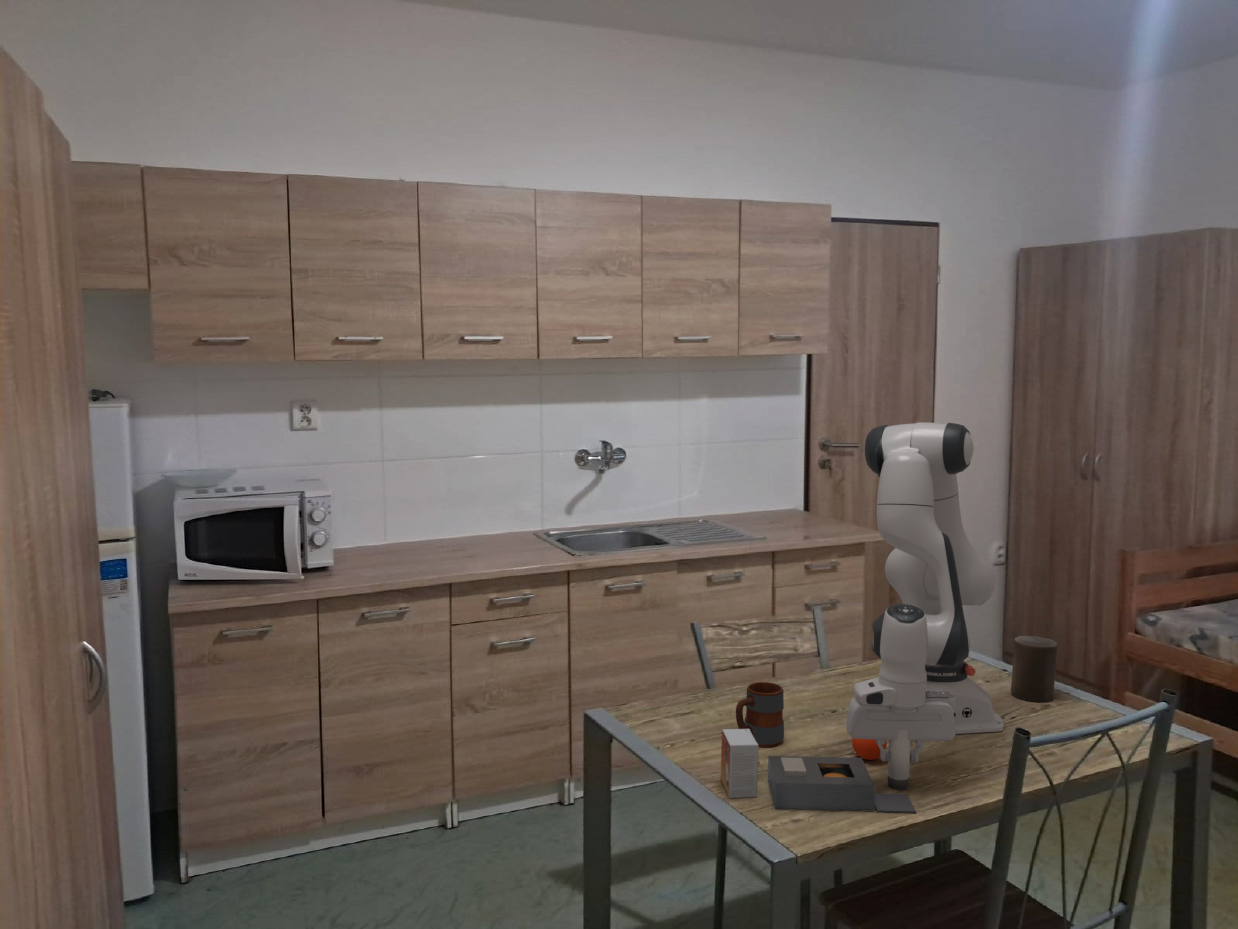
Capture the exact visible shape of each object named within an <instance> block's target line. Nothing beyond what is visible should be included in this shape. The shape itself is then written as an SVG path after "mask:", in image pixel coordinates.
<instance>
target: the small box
mask: <svg viewBox="0 0 1238 929" xmlns="http://www.w3.org/2000/svg"><path fill="white" fill-rule="evenodd" d="M759 748H760V746H759V745H758V744H757V742H756V740H755V739H754V737H753V735H752V733H751V731H750V729H739V728H731V729H730V728H729V729H727V728H724V729H723V728H722V730H721V748H720V749H721V752H720V753H721V756H720V757H721V758H720V781H721V783H722V784H723V788H724V790H725V792H726V796H727V797H728V799H740V798H742V799H743V798H746V799H747V798H748V799H749V798H757V797H758V774H759V773H758V772H759V770H758V769H759Z"/></svg>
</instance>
